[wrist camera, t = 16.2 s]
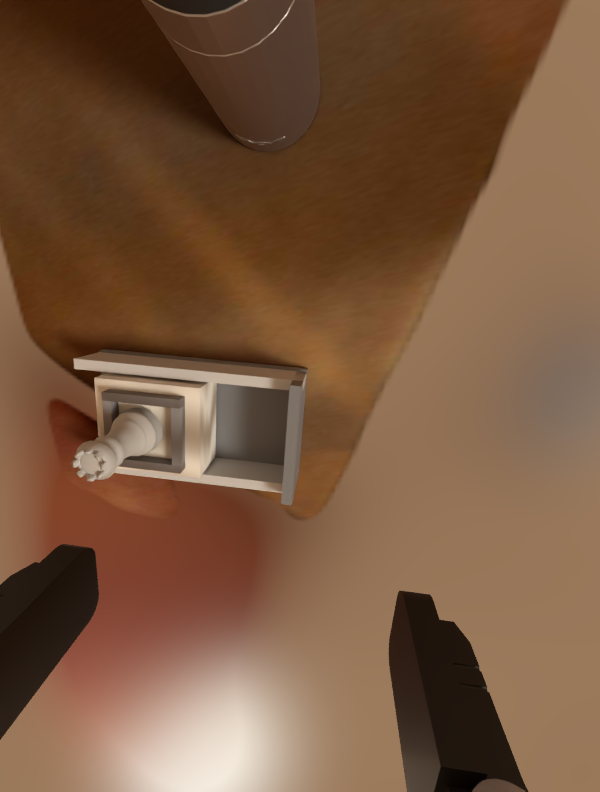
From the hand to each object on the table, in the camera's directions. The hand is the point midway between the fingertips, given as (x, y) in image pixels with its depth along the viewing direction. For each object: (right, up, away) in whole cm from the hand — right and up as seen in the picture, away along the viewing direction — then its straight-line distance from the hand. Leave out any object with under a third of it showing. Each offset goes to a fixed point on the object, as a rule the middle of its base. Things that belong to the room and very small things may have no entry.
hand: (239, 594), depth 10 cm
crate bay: (-9, +3, +31) cm, 33 cm away
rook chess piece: (-13, +2, +26) cm, 29 cm away
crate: (-12, +3, +30) cm, 33 cm away
